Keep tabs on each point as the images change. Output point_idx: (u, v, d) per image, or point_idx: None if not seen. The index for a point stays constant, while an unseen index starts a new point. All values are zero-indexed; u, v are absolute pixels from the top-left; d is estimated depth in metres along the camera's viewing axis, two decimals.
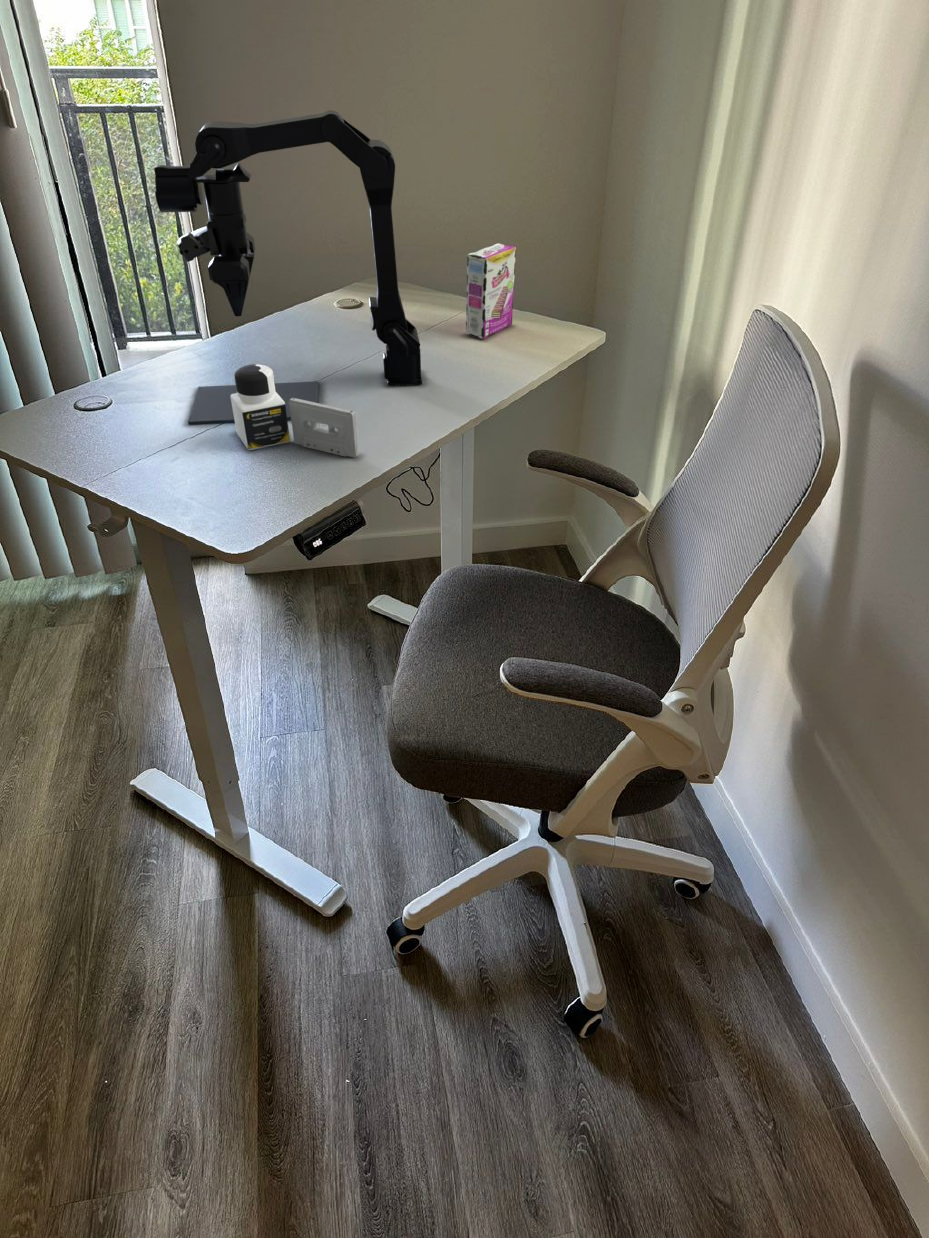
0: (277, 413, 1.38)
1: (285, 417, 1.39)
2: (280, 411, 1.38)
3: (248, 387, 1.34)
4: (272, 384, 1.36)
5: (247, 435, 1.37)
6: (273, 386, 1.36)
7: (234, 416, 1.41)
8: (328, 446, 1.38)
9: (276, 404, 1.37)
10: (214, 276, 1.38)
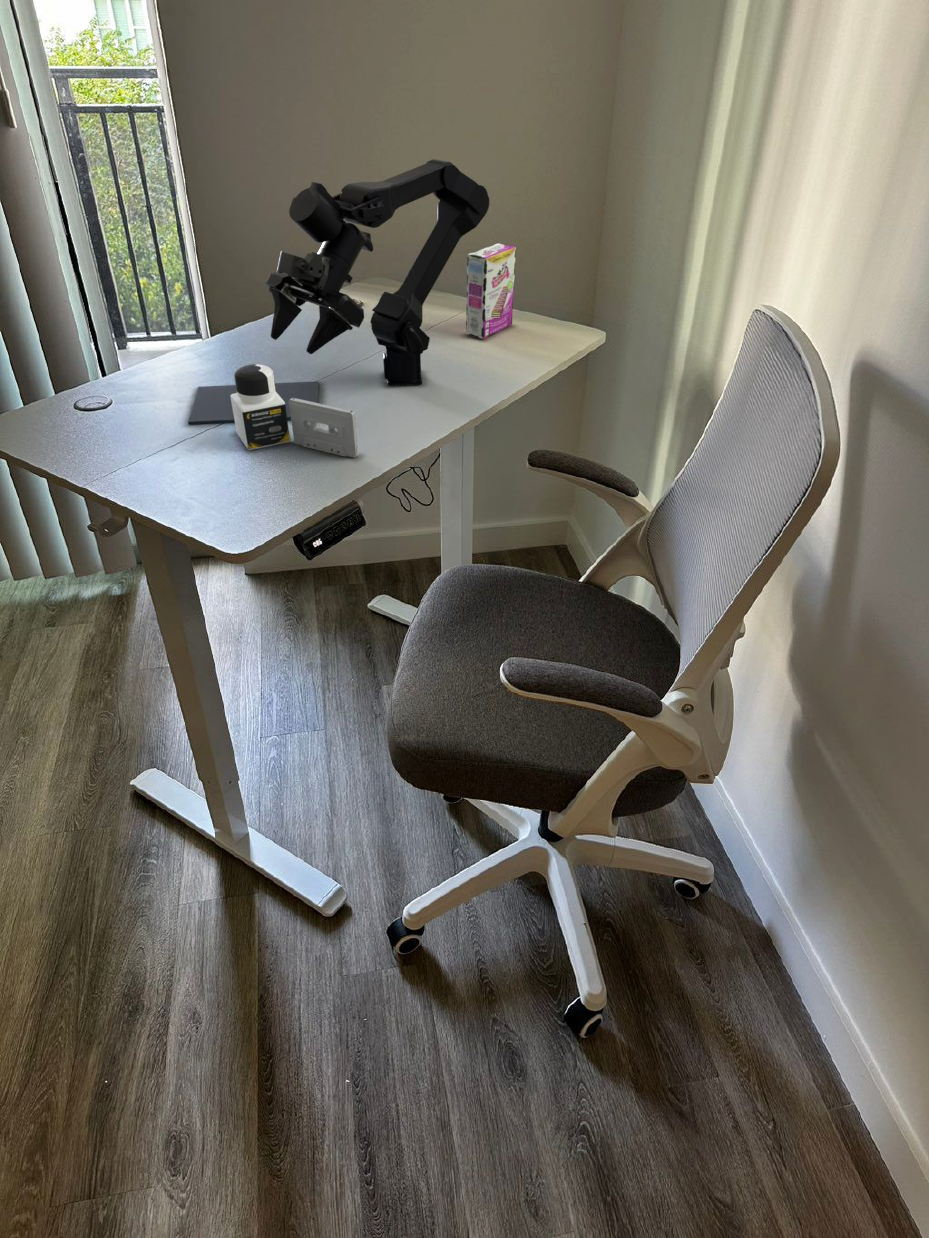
0: (277, 413, 1.38)
1: (285, 417, 1.39)
2: (280, 411, 1.38)
3: (248, 387, 1.34)
4: (272, 384, 1.36)
5: (248, 435, 1.37)
6: (273, 386, 1.36)
7: (234, 416, 1.41)
8: (328, 446, 1.38)
9: (276, 404, 1.37)
10: (343, 307, 1.32)
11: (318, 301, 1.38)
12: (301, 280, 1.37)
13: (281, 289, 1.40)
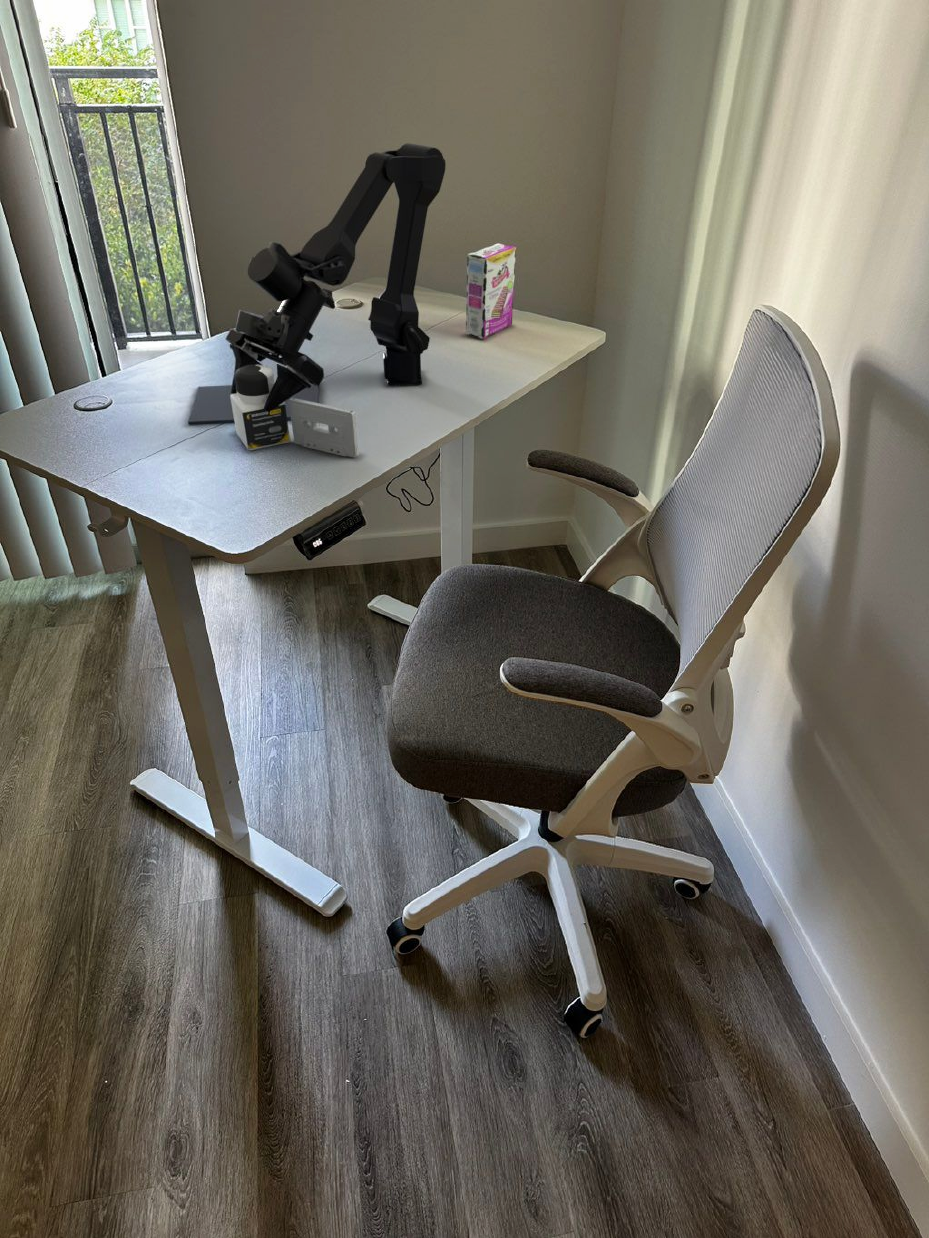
0: (277, 414, 1.38)
1: (285, 417, 1.38)
2: (280, 411, 1.37)
3: (248, 387, 1.34)
4: (272, 384, 1.36)
5: (247, 436, 1.37)
6: None
7: (234, 416, 1.41)
8: (328, 446, 1.38)
9: None
10: (301, 367, 1.31)
11: (277, 358, 1.36)
12: (260, 338, 1.36)
13: (242, 346, 1.39)
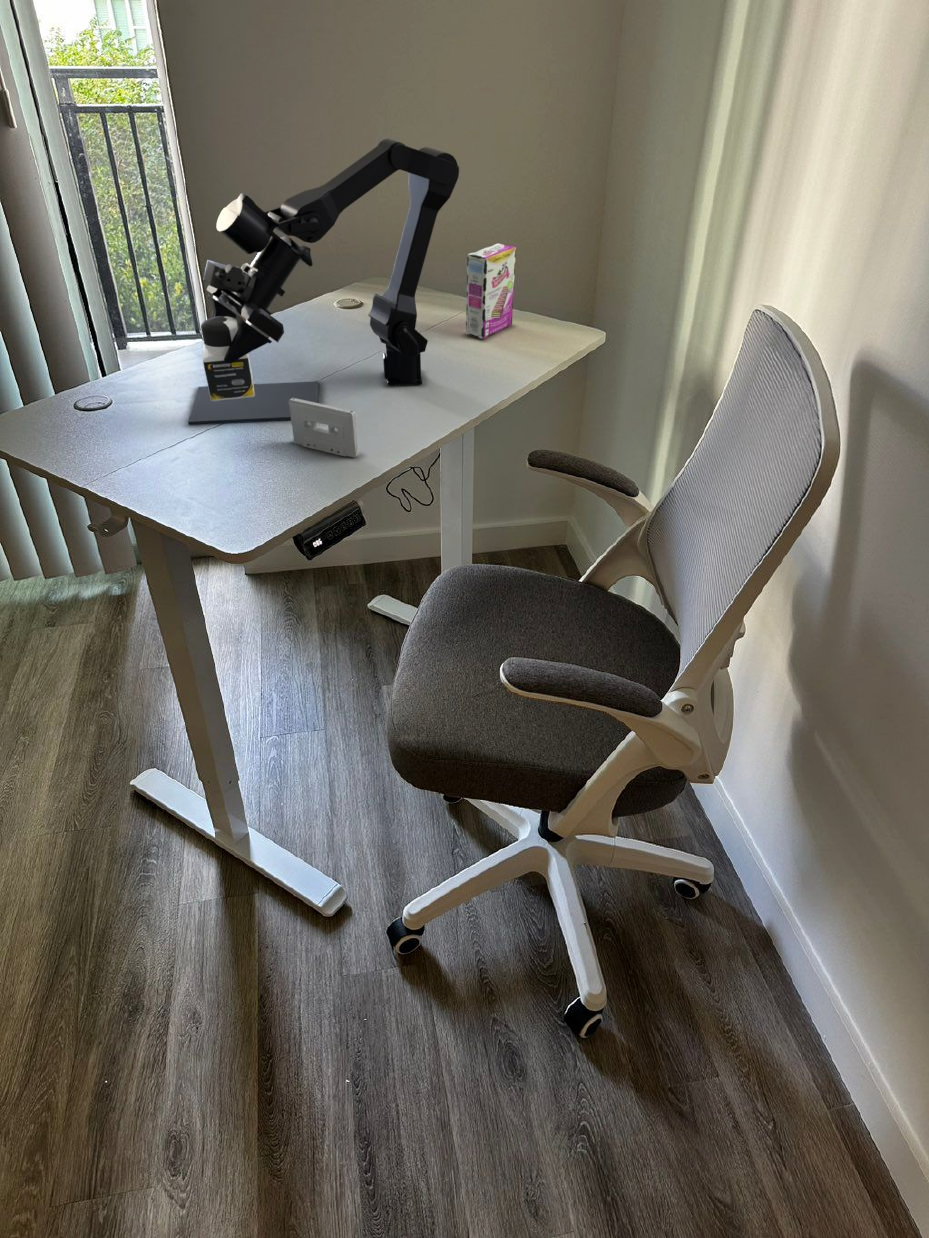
0: (240, 367, 1.38)
1: (248, 371, 1.39)
2: (243, 364, 1.38)
3: (210, 337, 1.36)
4: None
5: (209, 386, 1.39)
6: None
7: None
8: (328, 446, 1.38)
9: None
10: (255, 321, 1.31)
11: None
12: None
13: (219, 297, 1.40)
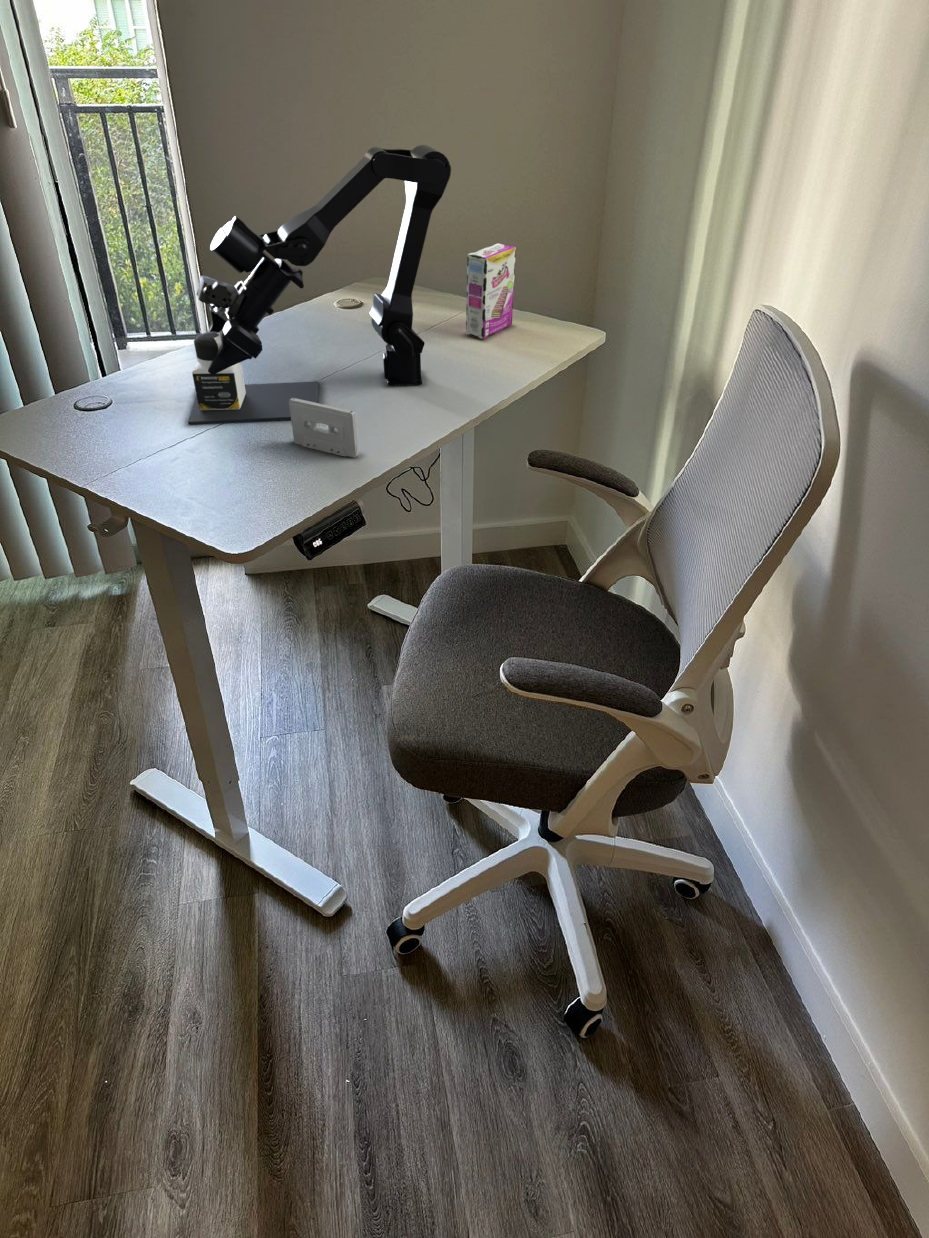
0: (226, 381, 1.46)
1: (234, 385, 1.47)
2: (229, 379, 1.46)
3: (200, 351, 1.44)
4: None
5: (198, 396, 1.48)
6: None
7: None
8: (328, 446, 1.38)
9: (224, 371, 1.45)
10: (232, 337, 1.37)
11: None
12: None
13: (217, 310, 1.49)
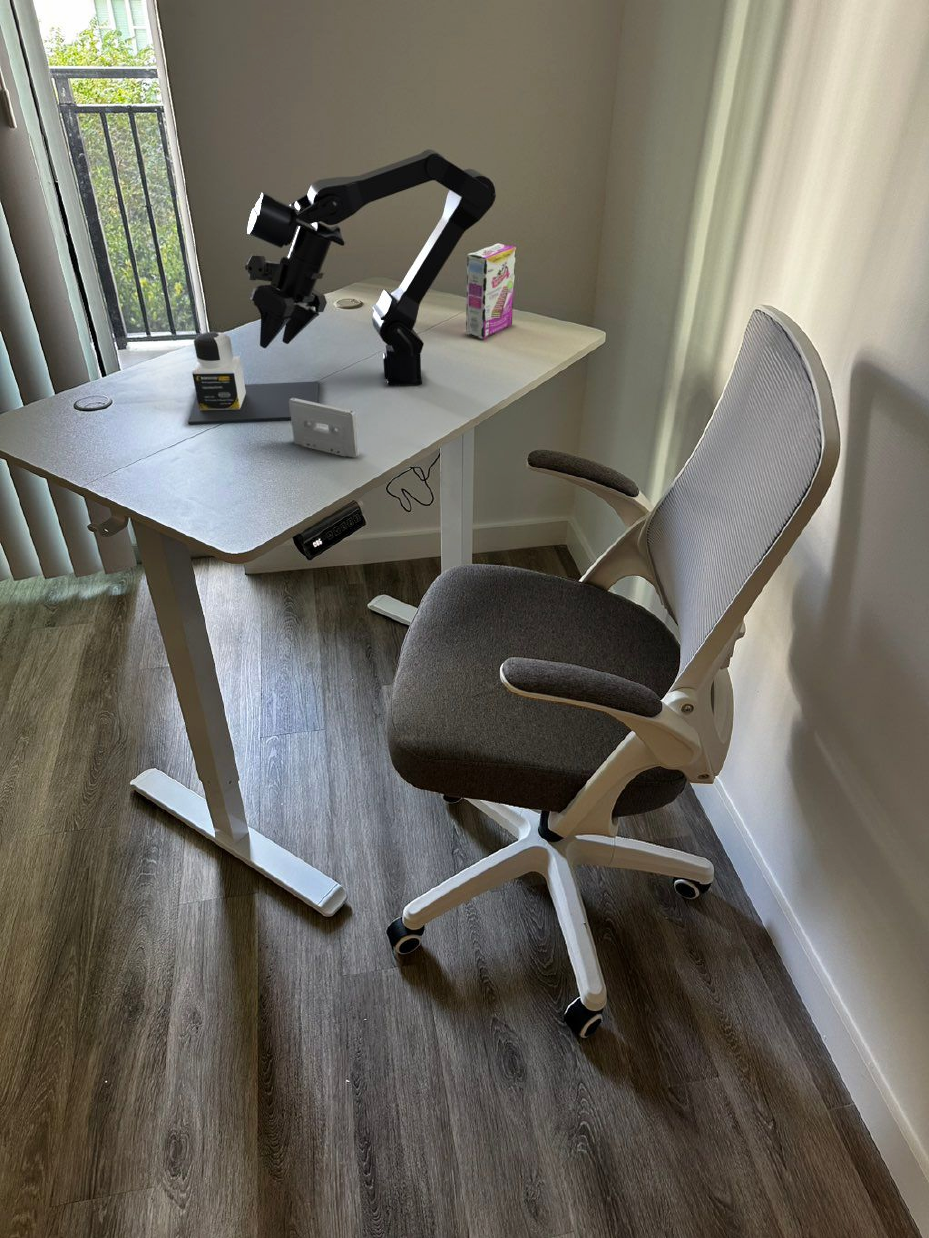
0: (226, 381, 1.46)
1: (234, 385, 1.47)
2: (229, 379, 1.46)
3: (200, 351, 1.44)
4: (225, 352, 1.45)
5: (198, 396, 1.48)
6: (226, 354, 1.45)
7: None
8: (328, 446, 1.38)
9: (224, 371, 1.45)
10: (255, 297, 1.39)
11: None
12: None
13: None
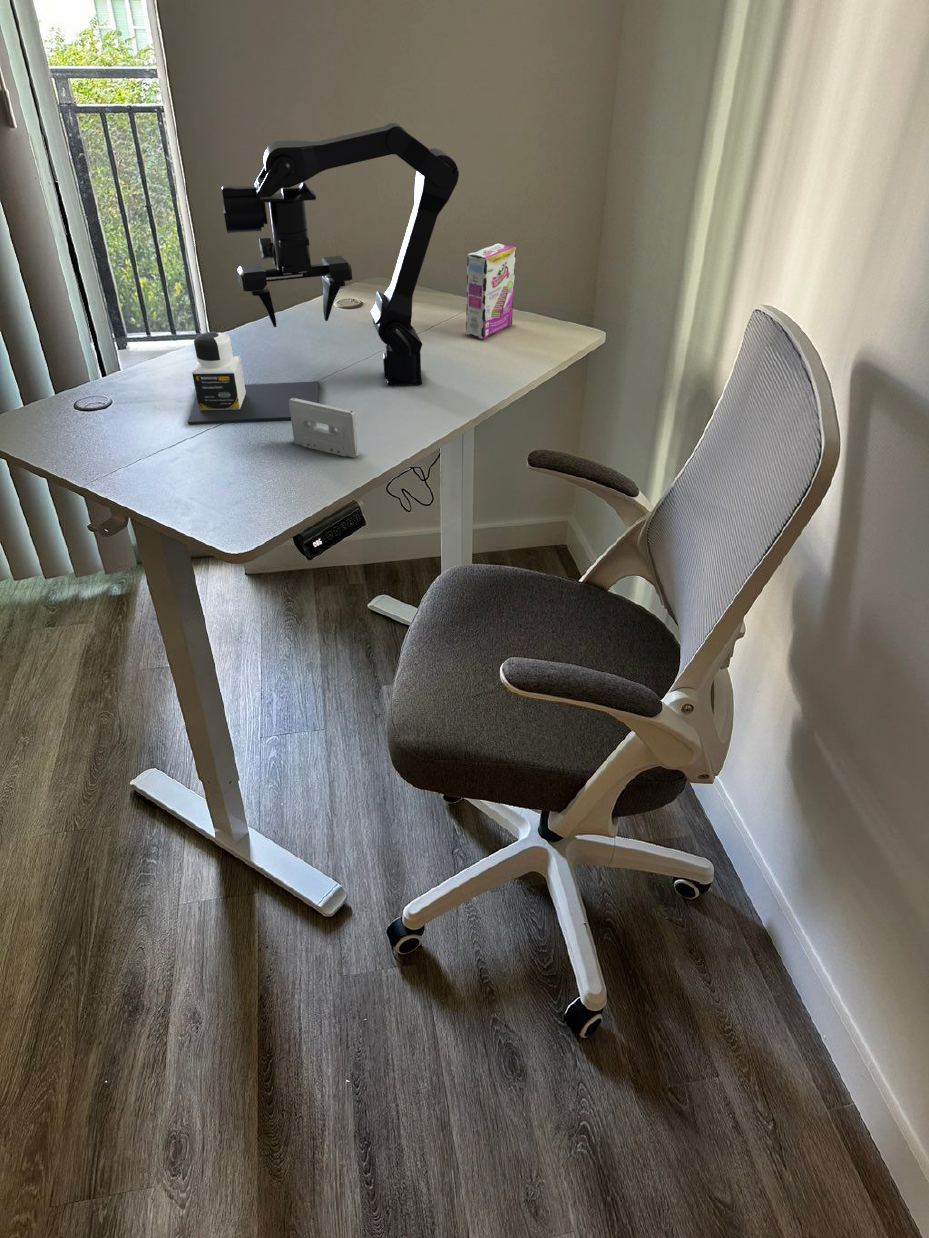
0: (226, 381, 1.46)
1: (234, 385, 1.47)
2: (229, 379, 1.46)
3: (200, 351, 1.44)
4: (225, 352, 1.45)
5: (198, 396, 1.48)
6: (226, 354, 1.45)
7: None
8: (328, 446, 1.38)
9: (224, 371, 1.45)
10: (238, 278, 1.45)
11: None
12: None
13: None
